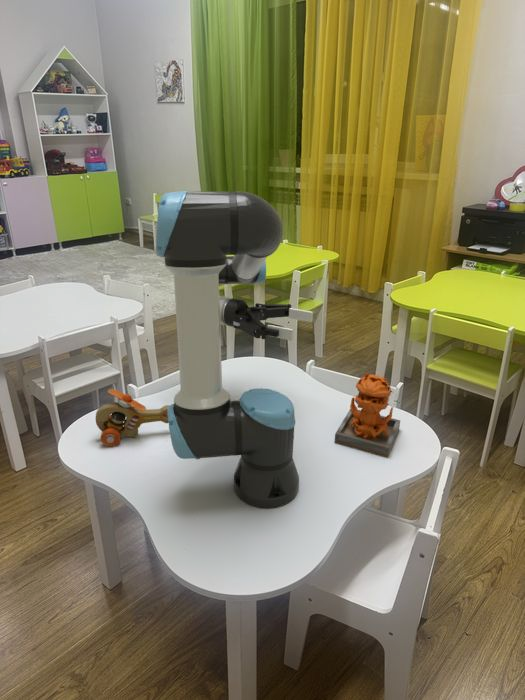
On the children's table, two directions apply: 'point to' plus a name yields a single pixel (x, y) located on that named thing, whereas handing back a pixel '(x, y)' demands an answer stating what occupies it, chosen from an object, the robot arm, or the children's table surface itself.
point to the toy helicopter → (122, 411)
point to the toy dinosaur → (371, 406)
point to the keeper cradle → (374, 446)
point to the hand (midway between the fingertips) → (302, 325)
